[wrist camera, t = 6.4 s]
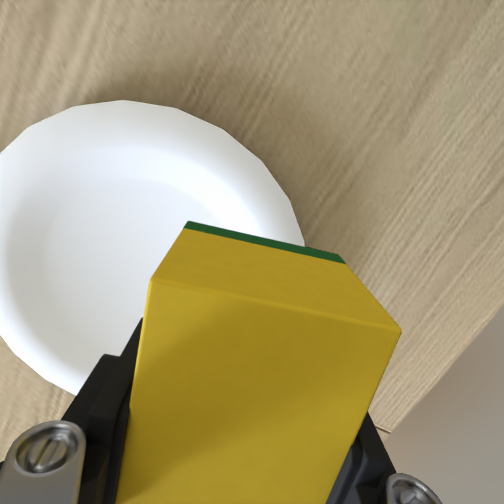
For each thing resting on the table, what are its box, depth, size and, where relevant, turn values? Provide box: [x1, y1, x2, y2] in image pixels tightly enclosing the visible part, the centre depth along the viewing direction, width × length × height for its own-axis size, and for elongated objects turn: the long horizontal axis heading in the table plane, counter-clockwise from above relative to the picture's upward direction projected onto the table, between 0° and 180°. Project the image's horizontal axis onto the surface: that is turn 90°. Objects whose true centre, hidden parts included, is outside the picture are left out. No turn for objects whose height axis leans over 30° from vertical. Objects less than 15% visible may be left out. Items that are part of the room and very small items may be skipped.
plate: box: [0, 100, 305, 395], centre depth 26 cm, size 25×25×2 cm
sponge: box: [115, 221, 402, 504], centre depth 10 cm, size 9×5×5 cm, turn 166°
